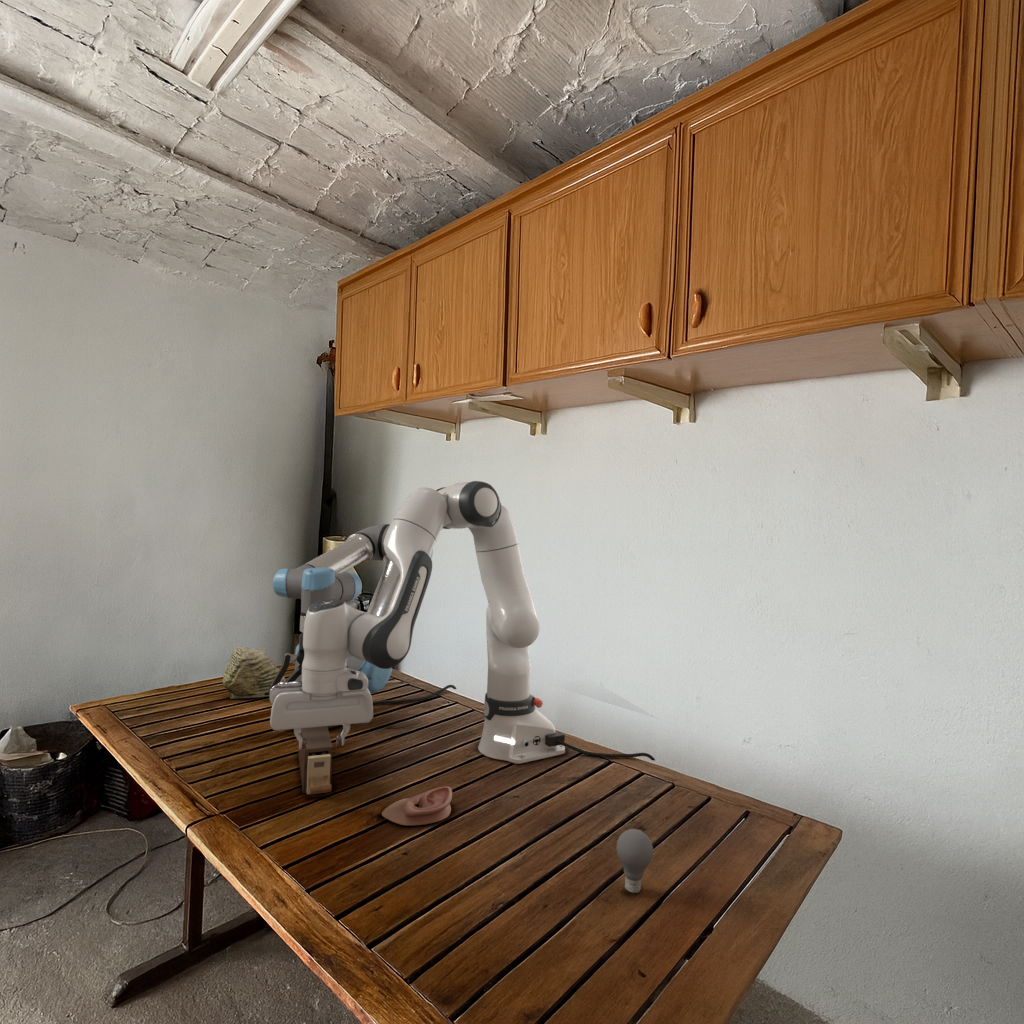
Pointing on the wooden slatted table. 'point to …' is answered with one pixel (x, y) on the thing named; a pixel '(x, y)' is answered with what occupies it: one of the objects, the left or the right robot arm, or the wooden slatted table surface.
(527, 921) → the wooden slatted table surface
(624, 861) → the light bulb
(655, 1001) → the wooden slatted table surface
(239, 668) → the fossil
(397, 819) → the anatomical model
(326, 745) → the cabinet
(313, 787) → the drawer
